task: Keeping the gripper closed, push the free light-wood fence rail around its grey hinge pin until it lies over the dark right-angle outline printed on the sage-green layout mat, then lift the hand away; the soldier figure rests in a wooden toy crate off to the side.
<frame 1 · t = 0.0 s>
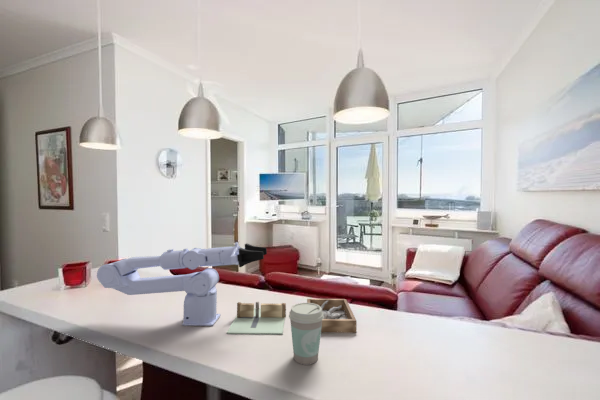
hand: (265, 252, 85), 22 cm above the worktop, tool horizontal, fingers open, 7 cm apart
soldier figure: (329, 320, 87), resting in toy crate
toy crate: (329, 319, 87), on the worktop
fixed rail: (257, 318, 87), resting on layout mat
coffee cup: (306, 358, 65), on the worktop
layout mat: (259, 320, 86), on the worktop
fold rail: (273, 310, 87), point 3 cm above the worktop, hinge at 0.0°
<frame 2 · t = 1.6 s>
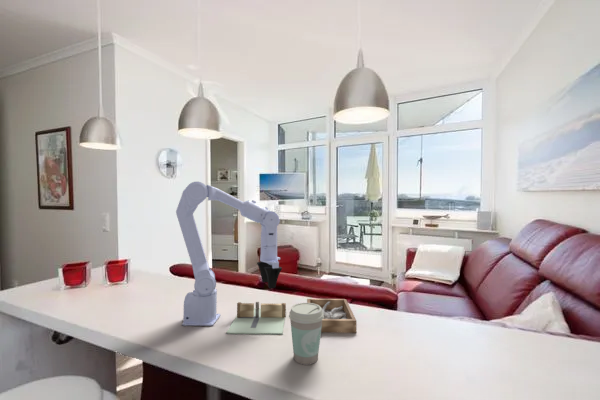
hand: (268, 284, 92), 9 cm above the worktop, tool pointing down, fingers open, 7 cm apart
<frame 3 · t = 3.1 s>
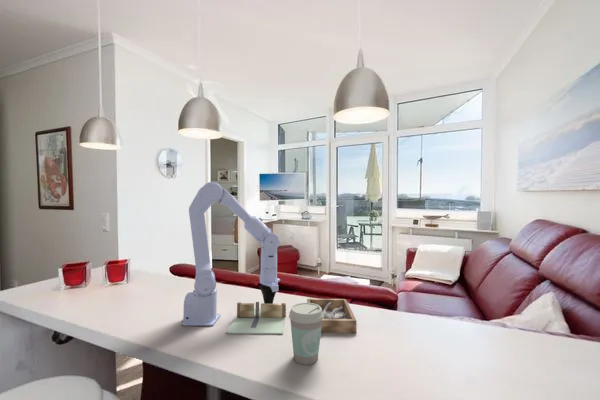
hand: (268, 306, 92), 2 cm above the worktop, tool pointing down, fingers closed
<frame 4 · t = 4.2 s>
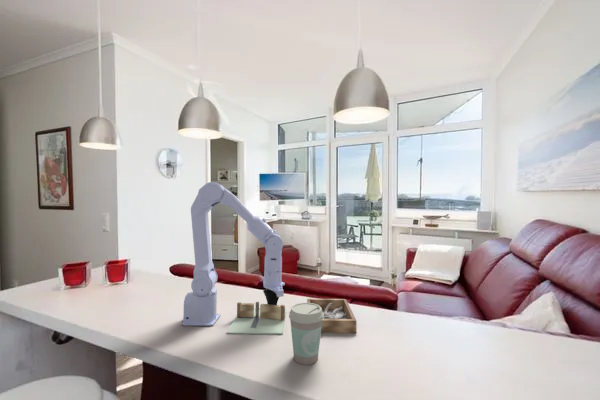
hand: (272, 311, 88), 2 cm above the worktop, tool pointing down, fingers closed, pressing on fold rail
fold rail: (272, 311, 86), point 3 cm above the worktop, hinge at -12.0°, touching gripper
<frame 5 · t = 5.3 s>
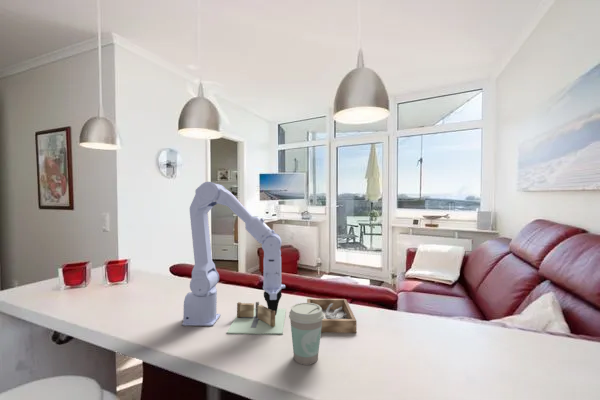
hand: (272, 314, 85), 2 cm above the worktop, tool pointing down, fingers closed
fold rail: (266, 314, 83), point 3 cm above the worktop, hinge at -48.0°, touching gripper
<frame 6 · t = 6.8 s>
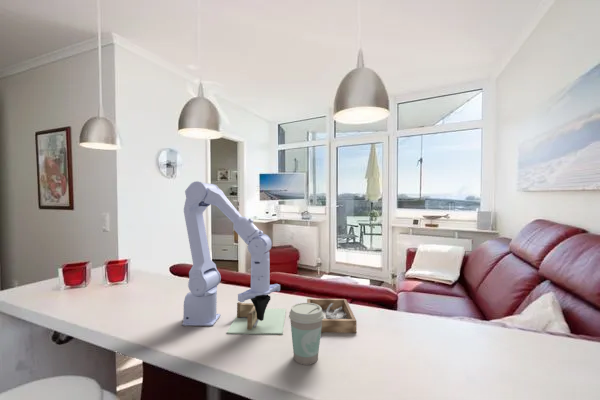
hand: (260, 319, 81), 2 cm above the worktop, tool pointing down, fingers closed
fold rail: (252, 316, 82), point 3 cm above the worktop, hinge at -95.7°, touching gripper
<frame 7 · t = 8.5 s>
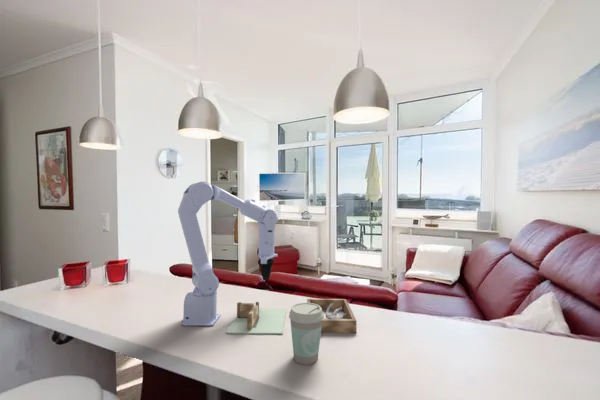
hand: (266, 279, 97), 10 cm above the worktop, tool pointing down, fingers closed
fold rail: (252, 316, 82), point 3 cm above the worktop, hinge at -95.8°
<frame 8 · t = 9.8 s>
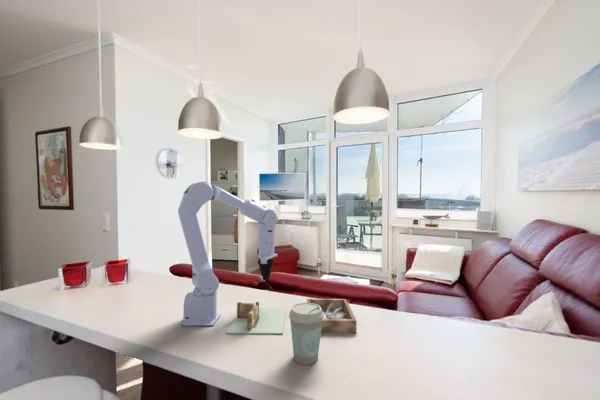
hand: (266, 279, 97), 10 cm above the worktop, tool pointing down, fingers closed
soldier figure: (335, 323, 85), resting in toy crate
everything else where it was.
at the end: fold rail at -96° (first picture: +0°) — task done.
